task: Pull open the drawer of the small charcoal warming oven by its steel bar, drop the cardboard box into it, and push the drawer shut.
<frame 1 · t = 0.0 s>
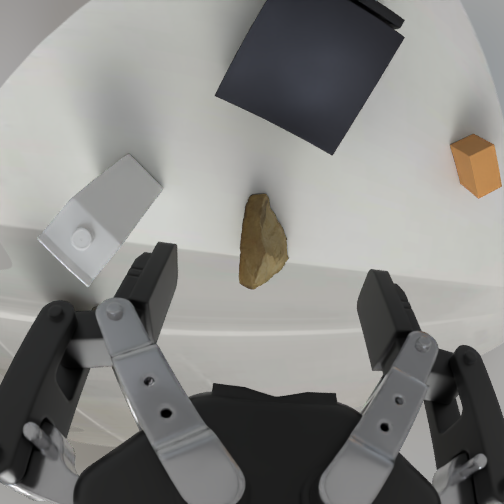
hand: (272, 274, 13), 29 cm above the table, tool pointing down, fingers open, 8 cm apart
milk carton: (131, 185, 43), on the table
rock: (268, 226, 45), on the table
drawer: (330, 22, 26), point 5 cm above the table, slide at 0.8 cm
warming oven: (302, 61, 33), on the table
cardboard box: (467, 159, 37), on the table
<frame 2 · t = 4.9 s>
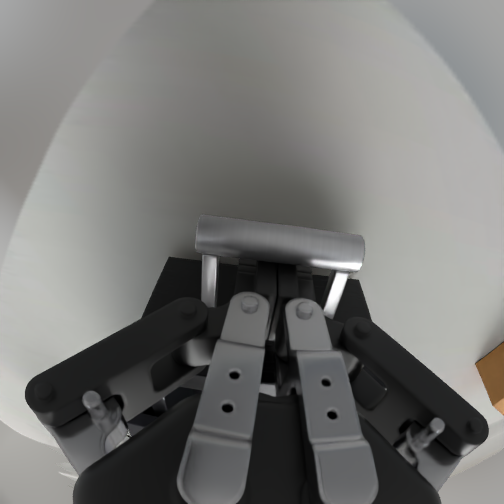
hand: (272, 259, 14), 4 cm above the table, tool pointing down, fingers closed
drawer: (254, 365, 17), point 5 cm above the table, slide at 3.2 cm, touching gripper
warming oven: (246, 373, 26), on the table
cardboard box: (499, 360, 25), on the table
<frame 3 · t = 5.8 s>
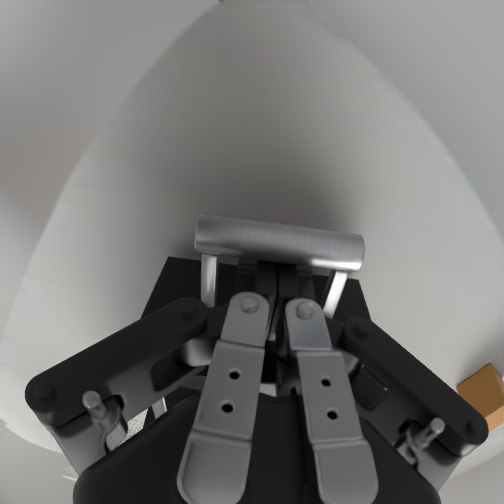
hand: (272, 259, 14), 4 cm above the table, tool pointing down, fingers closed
drawer: (253, 364, 17), point 5 cm above the table, slide at 7.1 cm, touching gripper
cardboard box: (480, 382, 27), on the table
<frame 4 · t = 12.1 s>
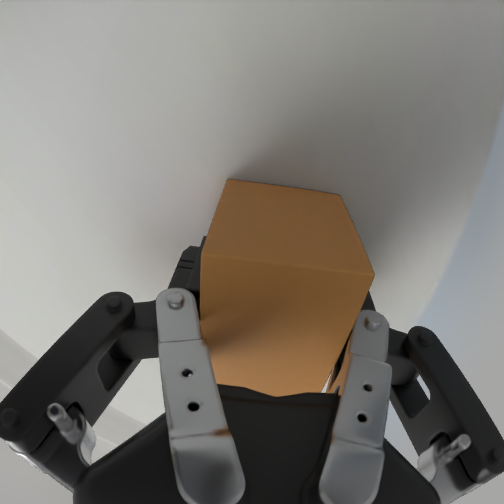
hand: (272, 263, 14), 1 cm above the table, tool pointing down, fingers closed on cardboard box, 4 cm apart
cardboard box: (272, 253, 14), on the table, touching gripper
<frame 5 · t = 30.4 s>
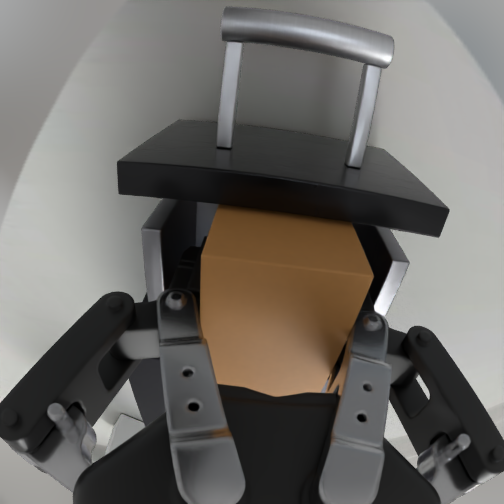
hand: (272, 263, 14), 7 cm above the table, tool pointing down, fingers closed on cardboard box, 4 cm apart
milk carton: (140, 428, 39), on the table
drawer: (274, 230, 15), point 5 cm above the table, slide at 7.2 cm
warming oven: (251, 329, 25), on the table
cardboard box: (272, 254, 14), point 6 cm above the table, touching gripper
when the fingers open (10 cm above the table, at t = 36.4 s): cardboard box drops 7 cm, resting on drawer.
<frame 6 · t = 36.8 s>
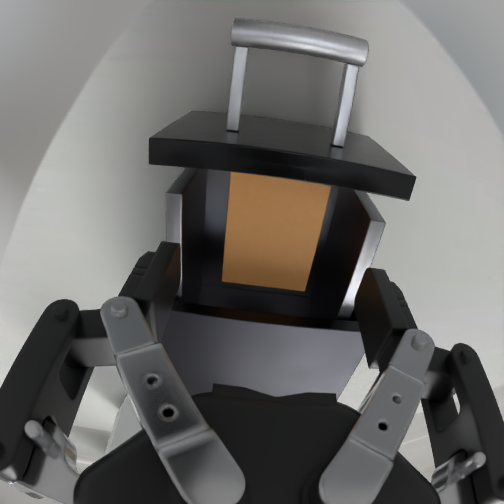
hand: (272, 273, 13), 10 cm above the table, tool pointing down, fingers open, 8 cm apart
milk carton: (144, 410, 42), on the table
drawer: (273, 202, 18), point 5 cm above the table, slide at 7.2 cm, touching cardboard box
warming oven: (253, 302, 28), on the table
cardboard box: (272, 193, 20), point 2 cm above the table, touching drawer
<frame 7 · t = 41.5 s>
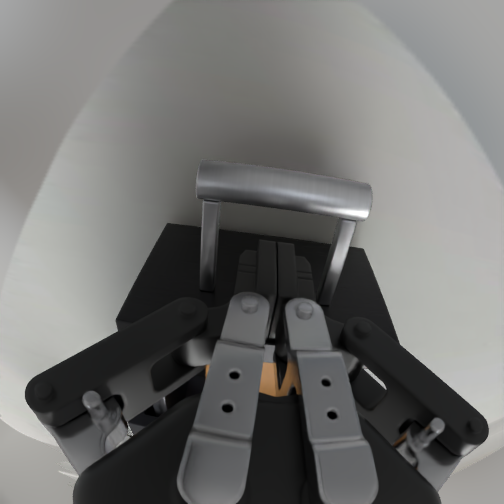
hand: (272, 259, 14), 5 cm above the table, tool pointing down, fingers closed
drawer: (255, 336, 17), point 5 cm above the table, slide at 6.3 cm, touching cardboard box, gripper
warming oven: (242, 375, 27), on the table
cardboard box: (256, 309, 20), point 2 cm above the table, touching drawer
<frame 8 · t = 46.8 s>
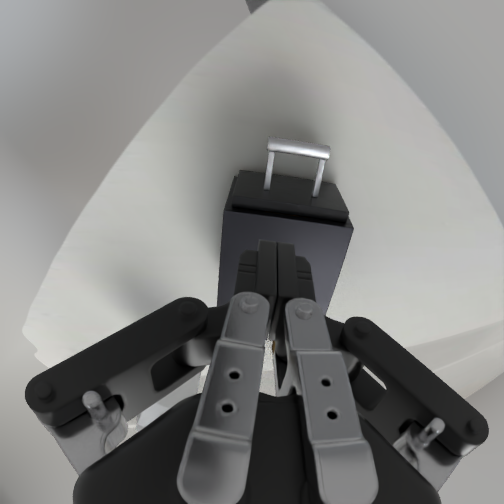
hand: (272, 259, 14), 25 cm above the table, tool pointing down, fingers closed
milk carton: (181, 345, 56), on the table
drawer: (284, 221, 36), point 5 cm above the table, slide at 0.0 cm, touching cardboard box
warming oven: (277, 234, 42), on the table
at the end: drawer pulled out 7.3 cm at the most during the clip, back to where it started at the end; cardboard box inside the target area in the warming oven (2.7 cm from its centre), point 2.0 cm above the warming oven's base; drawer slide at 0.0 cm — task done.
